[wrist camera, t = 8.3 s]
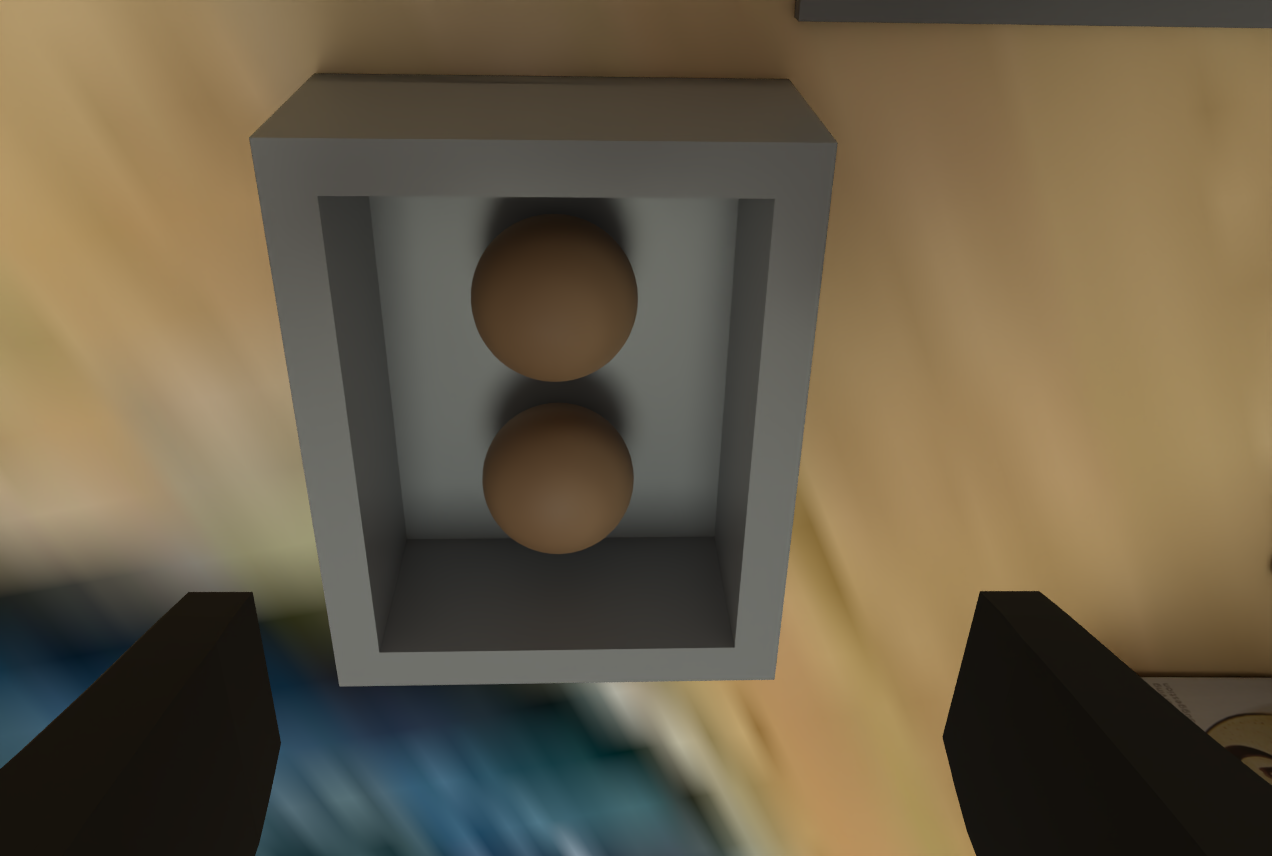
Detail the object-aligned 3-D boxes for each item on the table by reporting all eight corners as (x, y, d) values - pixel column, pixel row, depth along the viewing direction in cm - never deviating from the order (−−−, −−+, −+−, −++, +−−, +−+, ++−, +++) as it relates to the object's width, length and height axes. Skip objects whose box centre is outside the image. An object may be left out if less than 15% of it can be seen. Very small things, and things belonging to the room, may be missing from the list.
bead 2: (632, 376, 20) (638, 453, 18) (629, 497, 21) (635, 584, 19) (484, 376, 20) (470, 454, 18) (491, 498, 21) (480, 586, 19)
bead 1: (636, 191, 18) (644, 250, 16) (633, 337, 20) (640, 411, 17) (474, 190, 18) (457, 249, 16) (482, 338, 20) (468, 412, 17)
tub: (788, 79, 18) (837, 142, 15) (745, 549, 23) (774, 679, 20) (314, 73, 18) (248, 137, 14) (376, 552, 23) (339, 686, 19)
